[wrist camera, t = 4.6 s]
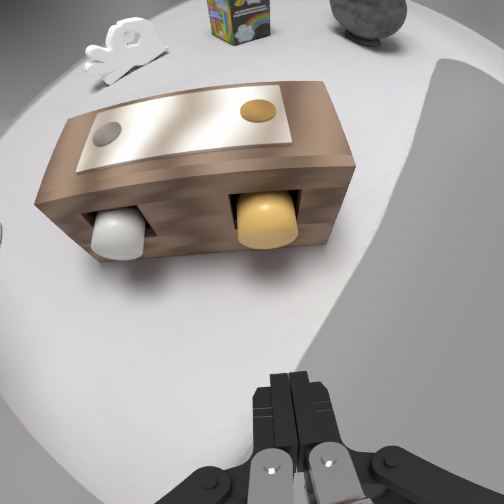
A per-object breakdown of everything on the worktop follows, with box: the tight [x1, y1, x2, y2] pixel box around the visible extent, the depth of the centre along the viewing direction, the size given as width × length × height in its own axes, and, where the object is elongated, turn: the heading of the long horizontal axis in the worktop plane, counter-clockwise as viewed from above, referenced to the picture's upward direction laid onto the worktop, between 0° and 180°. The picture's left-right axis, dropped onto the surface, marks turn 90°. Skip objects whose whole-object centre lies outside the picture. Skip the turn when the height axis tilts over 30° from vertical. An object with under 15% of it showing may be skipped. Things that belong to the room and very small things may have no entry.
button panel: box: [34, 81, 356, 262], centre depth 26 cm, size 24×10×12 cm, turn 94°
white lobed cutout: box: [84, 17, 168, 85], centre depth 41 cm, size 3×15×11 cm, turn 131°
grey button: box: [91, 206, 146, 260], centre depth 23 cm, size 4×3×4 cm
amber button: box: [236, 190, 298, 249], centre depth 23 cm, size 4×3×4 cm
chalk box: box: [207, 0, 270, 46], centre depth 42 cm, size 9×9×15 cm
